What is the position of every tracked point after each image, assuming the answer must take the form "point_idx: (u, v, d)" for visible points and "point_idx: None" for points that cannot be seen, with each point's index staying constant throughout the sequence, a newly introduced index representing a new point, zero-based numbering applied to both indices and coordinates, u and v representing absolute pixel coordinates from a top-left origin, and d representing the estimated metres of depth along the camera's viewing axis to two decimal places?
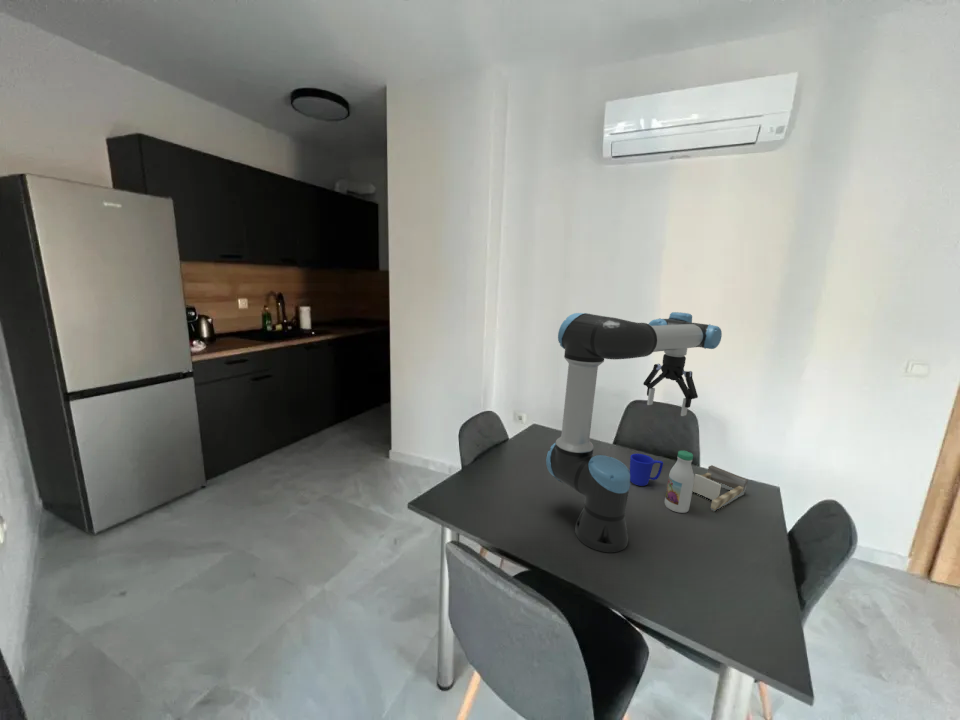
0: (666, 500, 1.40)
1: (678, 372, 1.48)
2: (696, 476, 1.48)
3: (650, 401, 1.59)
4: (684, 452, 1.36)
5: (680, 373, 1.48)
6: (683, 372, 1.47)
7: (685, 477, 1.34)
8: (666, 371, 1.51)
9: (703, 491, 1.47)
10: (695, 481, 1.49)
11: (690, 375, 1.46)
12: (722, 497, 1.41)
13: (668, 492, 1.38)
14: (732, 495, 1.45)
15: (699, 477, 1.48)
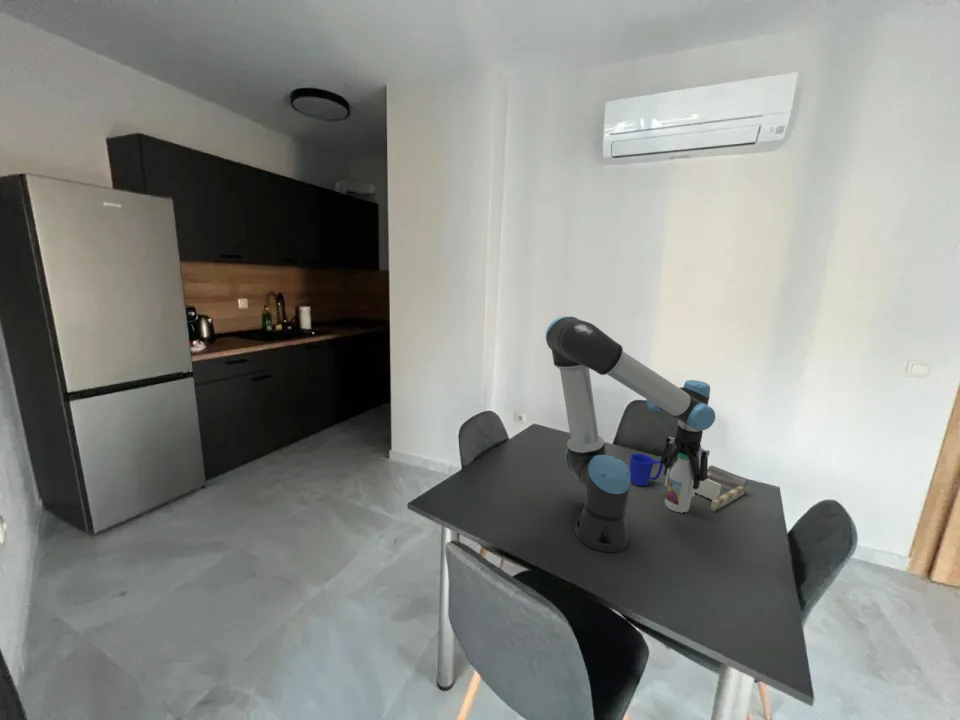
0: (666, 500, 1.40)
1: (694, 448, 1.32)
2: None
3: None
4: None
5: (696, 450, 1.32)
6: (699, 450, 1.31)
7: (685, 477, 1.34)
8: (680, 445, 1.35)
9: (703, 491, 1.47)
10: None
11: (706, 456, 1.30)
12: (722, 497, 1.41)
13: (668, 492, 1.38)
14: (732, 495, 1.45)
15: None
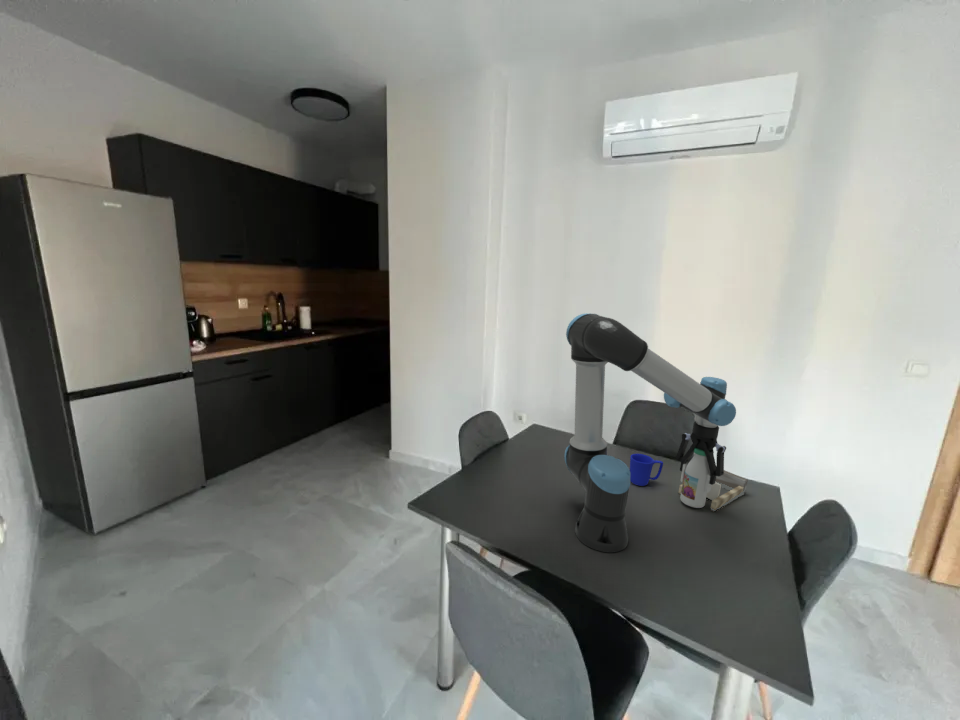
0: (682, 495, 1.41)
1: (710, 443, 1.34)
2: None
3: None
4: None
5: (712, 445, 1.34)
6: (716, 445, 1.33)
7: (701, 472, 1.36)
8: (697, 441, 1.37)
9: None
10: None
11: (723, 451, 1.32)
12: (722, 497, 1.41)
13: (684, 487, 1.40)
14: (732, 495, 1.45)
15: None
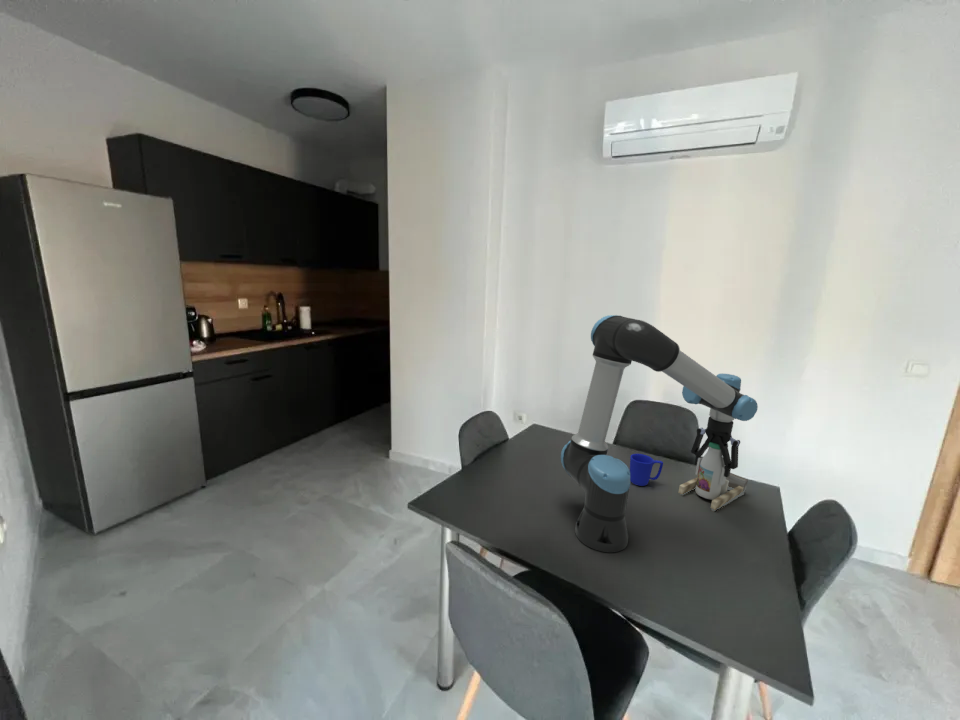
0: (697, 488, 1.47)
1: (725, 437, 1.40)
2: None
3: None
4: None
5: (727, 439, 1.39)
6: (730, 439, 1.39)
7: (716, 465, 1.41)
8: (711, 435, 1.43)
9: None
10: None
11: (737, 445, 1.38)
12: (722, 497, 1.41)
13: (699, 480, 1.46)
14: (732, 495, 1.45)
15: None
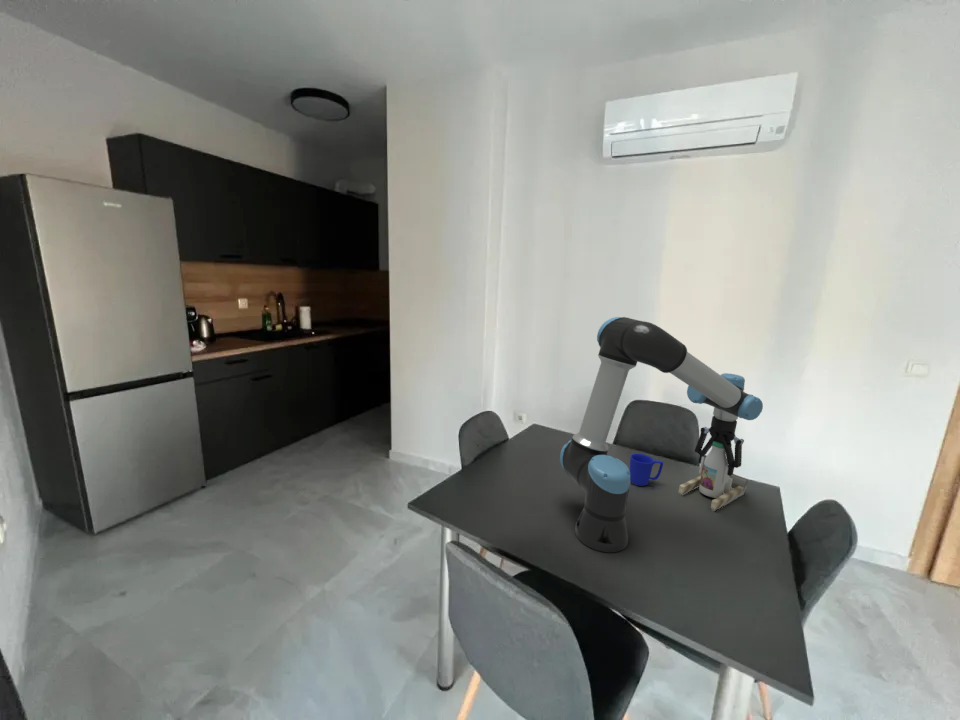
0: (701, 486, 1.49)
1: (729, 437, 1.41)
2: None
3: None
4: None
5: (731, 438, 1.41)
6: (734, 438, 1.40)
7: (720, 464, 1.43)
8: (715, 434, 1.44)
9: None
10: None
11: (741, 444, 1.39)
12: (722, 497, 1.41)
13: (703, 479, 1.47)
14: (732, 495, 1.45)
15: None
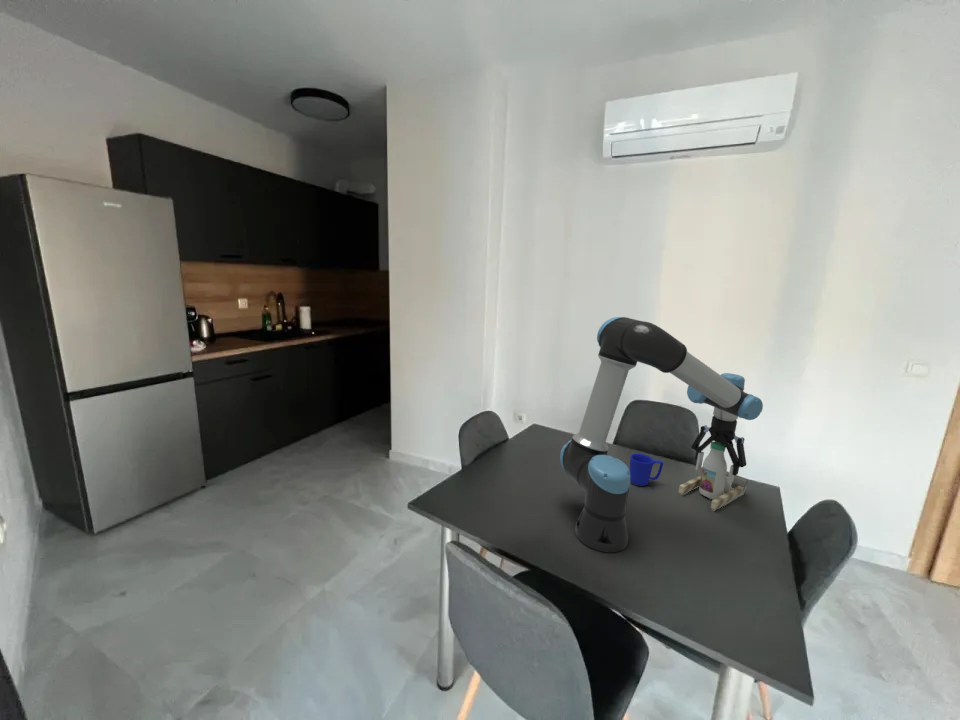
0: (700, 489, 1.48)
1: (729, 436, 1.41)
2: None
3: (699, 466, 1.51)
4: (717, 443, 1.46)
5: (731, 438, 1.41)
6: (734, 437, 1.40)
7: (719, 466, 1.43)
8: (715, 434, 1.44)
9: None
10: None
11: (742, 442, 1.39)
12: (722, 497, 1.41)
13: (702, 481, 1.47)
14: (732, 495, 1.45)
15: None
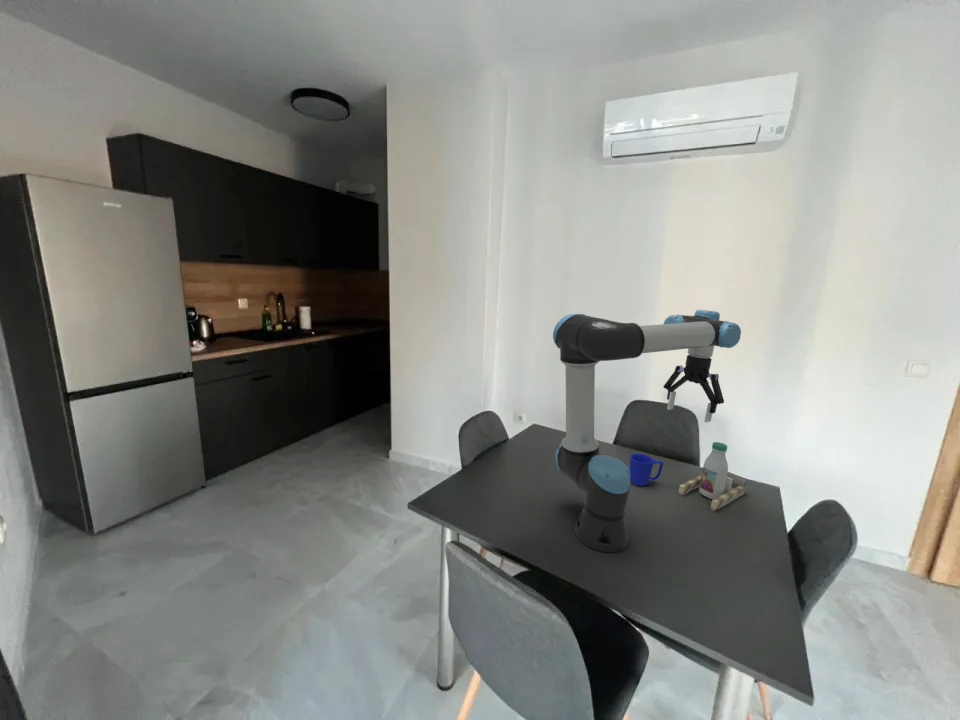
0: (701, 489, 1.48)
1: (703, 375, 1.37)
2: None
3: (670, 405, 1.48)
4: (718, 443, 1.45)
5: (705, 376, 1.37)
6: (708, 375, 1.36)
7: (720, 467, 1.43)
8: (689, 373, 1.40)
9: None
10: None
11: (716, 378, 1.35)
12: (722, 497, 1.41)
13: (703, 481, 1.47)
14: (732, 495, 1.45)
15: None
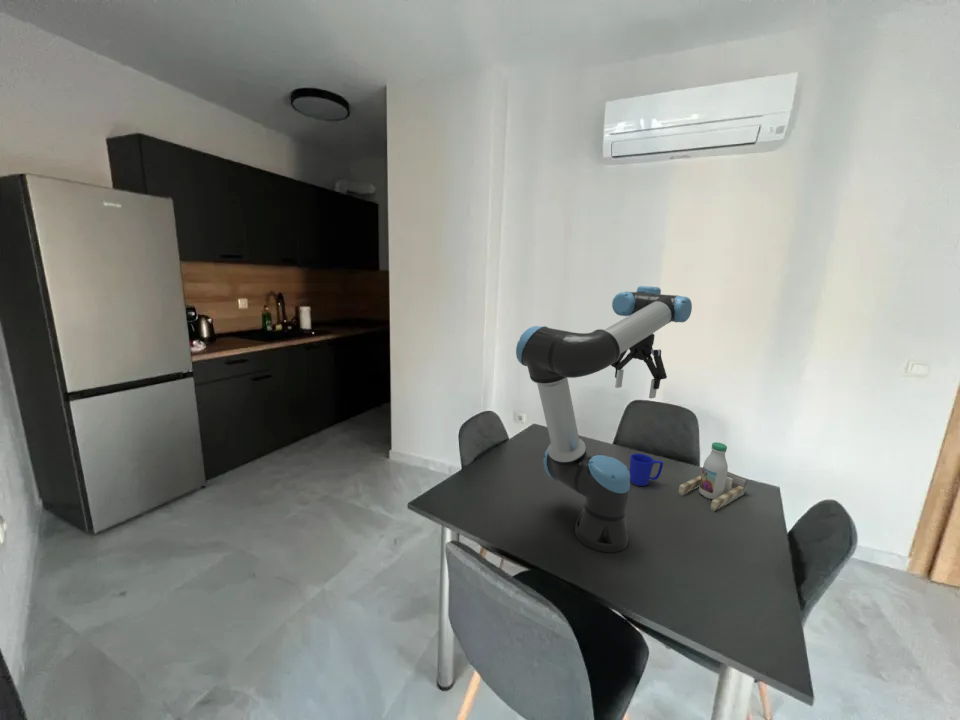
0: (701, 489, 1.48)
1: (646, 351, 1.37)
2: None
3: (618, 384, 1.48)
4: (718, 444, 1.45)
5: (648, 352, 1.37)
6: (651, 351, 1.36)
7: (719, 467, 1.43)
8: (634, 350, 1.40)
9: None
10: None
11: (658, 354, 1.35)
12: (722, 497, 1.41)
13: (703, 481, 1.47)
14: (732, 495, 1.45)
15: None
